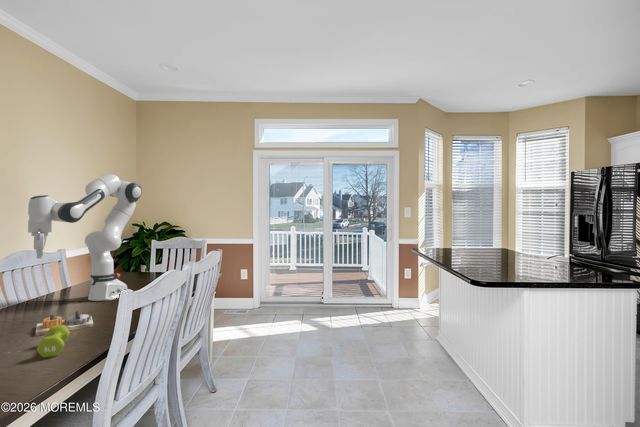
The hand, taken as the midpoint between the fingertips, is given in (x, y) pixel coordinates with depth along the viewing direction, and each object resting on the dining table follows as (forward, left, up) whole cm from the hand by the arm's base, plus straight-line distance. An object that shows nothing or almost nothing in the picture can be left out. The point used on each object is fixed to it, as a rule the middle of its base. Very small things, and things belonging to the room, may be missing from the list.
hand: (39, 257), depth 165 cm
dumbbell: (+12, +50, -30) cm, 59 cm away
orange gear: (+3, +24, -28) cm, 37 cm away
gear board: (-1, +26, -29) cm, 39 cm away
